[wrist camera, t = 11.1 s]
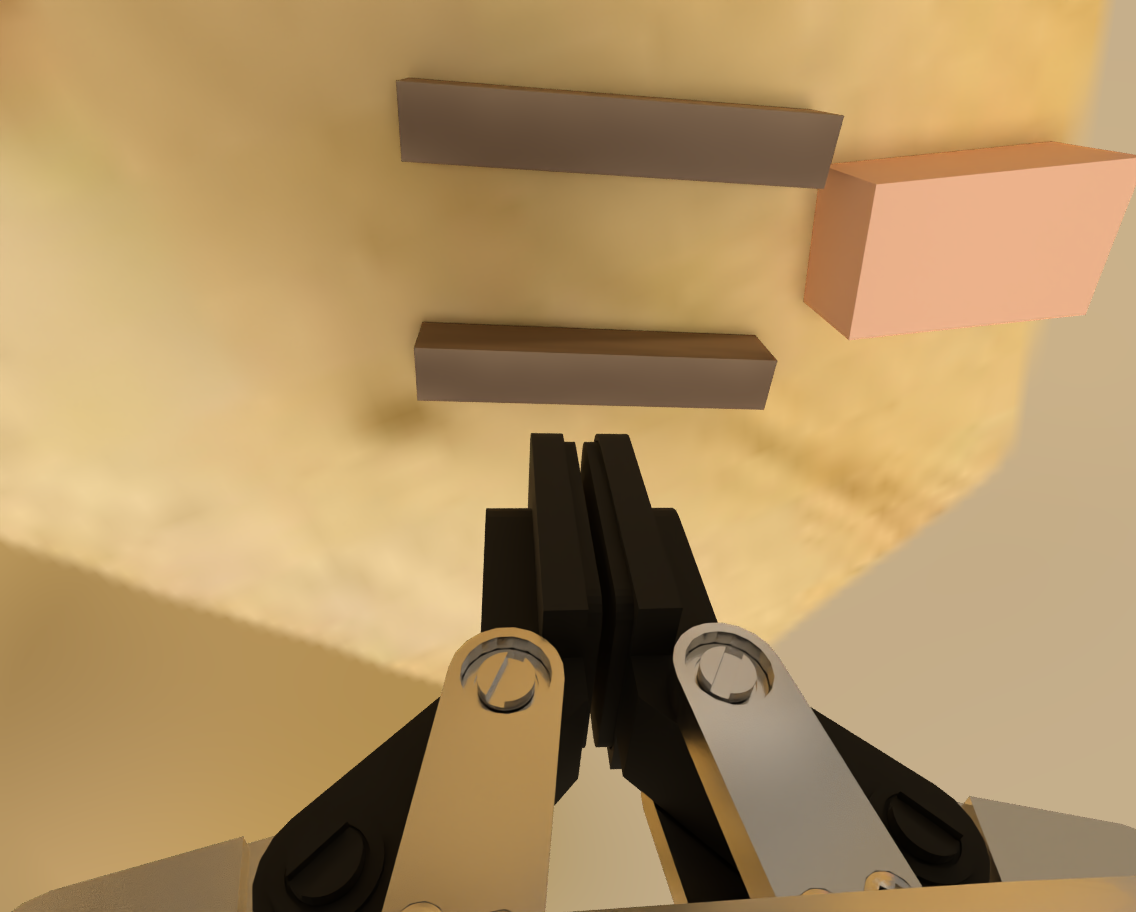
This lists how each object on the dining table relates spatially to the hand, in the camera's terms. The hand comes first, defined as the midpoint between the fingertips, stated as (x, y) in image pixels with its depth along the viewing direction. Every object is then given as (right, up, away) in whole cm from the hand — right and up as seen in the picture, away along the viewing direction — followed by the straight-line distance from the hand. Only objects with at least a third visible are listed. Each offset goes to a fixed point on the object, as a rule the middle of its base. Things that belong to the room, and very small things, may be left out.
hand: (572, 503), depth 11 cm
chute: (+1, +10, +17) cm, 19 cm away
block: (+16, +11, +17) cm, 26 cm away
